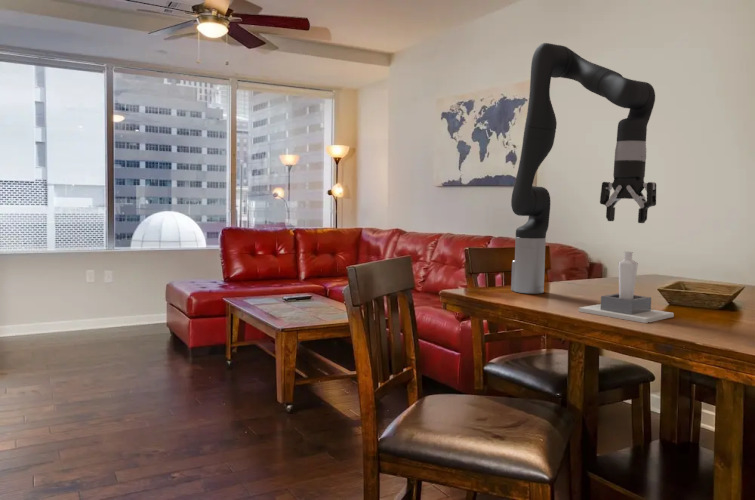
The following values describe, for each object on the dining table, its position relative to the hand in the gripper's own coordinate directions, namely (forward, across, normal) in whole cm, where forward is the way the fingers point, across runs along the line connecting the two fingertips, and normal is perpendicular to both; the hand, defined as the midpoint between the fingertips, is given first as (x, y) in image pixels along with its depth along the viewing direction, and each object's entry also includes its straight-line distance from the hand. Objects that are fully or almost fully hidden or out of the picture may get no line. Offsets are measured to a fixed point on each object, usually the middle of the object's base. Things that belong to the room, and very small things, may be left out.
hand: (625, 222), depth 156 cm
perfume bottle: (+23, +4, -4) cm, 23 cm away
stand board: (+23, +4, -4) cm, 24 cm away
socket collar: (+23, +4, -4) cm, 24 cm away
